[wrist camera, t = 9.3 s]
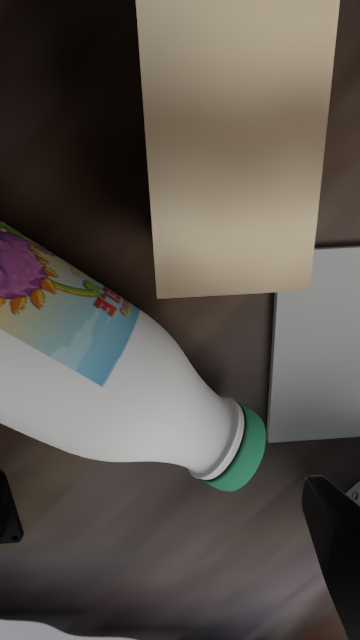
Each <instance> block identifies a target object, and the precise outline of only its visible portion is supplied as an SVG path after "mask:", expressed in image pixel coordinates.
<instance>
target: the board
mask: <svg viewBox="0 0 360 640" xmlns="http://www.w3.org/2000/svg"><path fill="white" fill-rule="evenodd" d="M339 4H340V0H136V12H137V26H138V40H139V54H140V68H141V82H142V95H143V109H144V123H145V137H146V151H147V165H148V179H149V193H150V207H151V221H152V235H153V249H154V263H155V277H156V291H157V299H162V298H181V297H199V296H218V295H236V294H255V293H273V292H292V291H310V285H311V275H312V265H313V256H314V246H315V236H316V226H317V217H318V207H319V197H320V188H321V178H322V168H323V159H324V149H325V139H326V130H327V120H328V110H329V101H330V91H331V81H332V72H333V62H334V52H335V43H336V33H337V23H338V14H339Z"/></svg>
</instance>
